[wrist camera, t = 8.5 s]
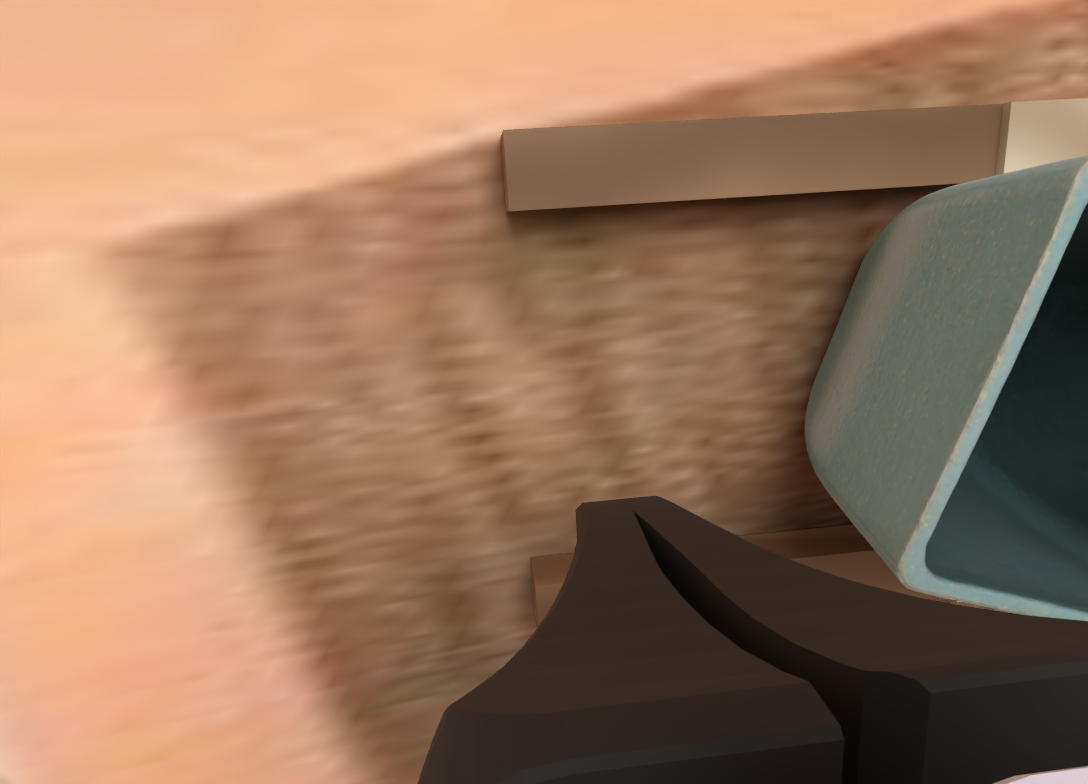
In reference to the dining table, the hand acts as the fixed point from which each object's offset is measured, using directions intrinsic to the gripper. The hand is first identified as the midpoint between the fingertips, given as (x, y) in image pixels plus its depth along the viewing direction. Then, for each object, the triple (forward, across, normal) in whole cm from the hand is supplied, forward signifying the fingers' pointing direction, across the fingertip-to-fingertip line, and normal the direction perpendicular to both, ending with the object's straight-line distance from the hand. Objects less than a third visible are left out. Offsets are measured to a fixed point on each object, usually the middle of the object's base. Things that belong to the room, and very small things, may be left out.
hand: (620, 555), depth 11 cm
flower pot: (+11, -11, 0) cm, 16 cm away
